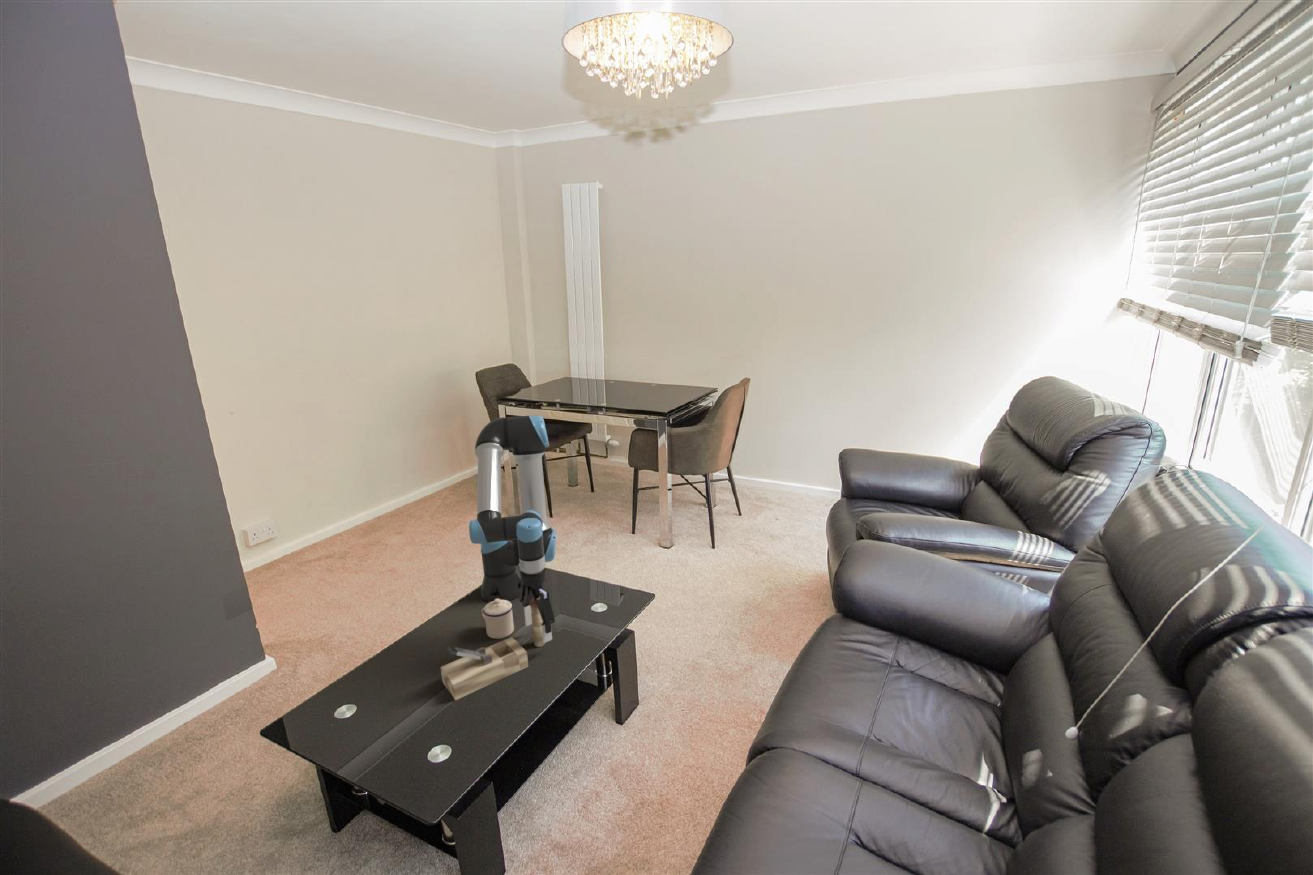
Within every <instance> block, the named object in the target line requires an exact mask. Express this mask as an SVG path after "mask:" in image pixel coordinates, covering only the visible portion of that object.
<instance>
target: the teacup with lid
mask: <svg viewBox="0 0 1313 875" xmlns="http://www.w3.org/2000/svg"><path fill="white" fill-rule="evenodd" d="M513 615H514V614H513V604H512V603H511V601H510V600H509V601H507V600H500V599H495V600H494V601H492V602H488V603H487V604H486V605H485V606H484V607H483V608H481V616H482V618H483V619H484V620H485V629H486V635H487V636H488V637H489V638H491V639H495V640H496V639H498V640H499V639H504V638H506V637H508V636H510V635H511V634H512V633H513V632H514V630H515V625H514V624H515V623H514V617H513Z"/></svg>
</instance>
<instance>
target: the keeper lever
mask: <svg viewBox="0 0 1313 875" xmlns="http://www.w3.org/2000/svg"><path fill="white" fill-rule="evenodd" d="M446 650H447V651H448V652H449V653H450V655H452V656H453V655H454V656H457V657H462V658H463V657H468V658H473V659H479V660H482V657H484V656H486V655H485V654H484V653H482V652H477V651H476V650H473V649H472V650H471V649H465V648H462V647H456V646H451V645H448V646H447V649H446Z"/></svg>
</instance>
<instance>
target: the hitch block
mask: <svg viewBox="0 0 1313 875" xmlns="http://www.w3.org/2000/svg"><path fill="white" fill-rule="evenodd" d="M475 651H477V652H482V653H484V654H485V655H486V656H484V657H482V660H479V659H473V658H468V657H463V656H462V657H461V658H458V659H456V660H454V661H452V662H449V663H447V664H444V665H442V666H440V673H441V674H440V675H441V680H442V683H443V685H444V686H445V688H446V689H447V690H448V692H449V693H450V695H451V696H452V698H453V699H454V700H455V701H458V700H460V699H461V698H463V697H466V696H468V695H469V694H470V695H471V694H472V693H474V692H477V691H479V690H481V689H483V688H485V687H487V686H489V685H492V684H494V683H497V682H498V681H500V680H503V679H504V678H507V677H509V676H511V675H513V674H515V673H517V672H519V671H522V670H524V669H526V668H528V667H529V659H528V652H527V651H526V649H525V648H523V646H522V645H521V644H519V642H518V641H517V640H515V639H514V637H513V636H511V637H508V638H506V639H503V640H502V641H500V642H496V643H495V644H492V645H490V646H487V647H485V646H482V647H480V648H477V649H475Z"/></svg>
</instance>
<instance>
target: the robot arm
mask: <svg viewBox="0 0 1313 875" xmlns="http://www.w3.org/2000/svg"><path fill="white" fill-rule="evenodd" d="M547 432H548V431H547V429H546V424H545V420H544V417H543V416H541V415H531V414H530V415H522V416H521V415H520V416H511V417H510V416H509V417H505V416H504V417H497V418H494V419H493V420H491V421H490V422H488V423H487V424H486V425H485V426H484V427H483V428H482V430H481V431H480V432H479V434H478V436H477V438H476V440H475V446H474V454H475V457H476V458H477V486H476V488H477V492H476V493H477V494H476V497H477V499H476V500H477V501H476V518H475V519H471V520H470V522H469V526H468V529H469V530H468V532H469V540H470V542H471V543H472V544H475V545H480V553H481V561H482V569H483V579H482V582H481V587H480V594H481V598H482V599H483V600H484V601H485V602H488V603H490V602H492V601H494V600H495V599H500V600H507V601H509V602H510V601H511V600H514V599H516V598H517V597H519V602H520V603H522V607H523V613H524V615H523V616H524V624H525V625H524V626H525V627H528V626H531V625H532V616H531V607H530V605H529V601H530V600H531V599H534V602H535V603H536V604H537V606H538V609H539V612H540V615H541V618H542V621H543V623H542V624H541V625H542V633H543V642H544V643H545V644H546V643H548V642H550V641H552V640H553V635H552V634H553V633H552V631H553V630H552V624H554V623H555V622H556V621H555V616H554V612H553V607H552V604H551V599H550V592H549V590H545V589H544V586H543V584H544V582H545V581H546V580H547V571H546V563H550V562H552V561H553V560H554V559H555V555H556V544H557V543H556V540H557V539H556V537H557V535H556V533H557V532H556V529H554V528H552V524H551V523H550V522H549V521H548V518H547V509H546V508H547V507H546V494H545V484H544V470H543V469H544V468H543V456H544V455H545V454H546V448H548V447H550V444H549V437H548V433H547ZM505 451H512V452H511V453H512V456H513V457H514V458H516V460H517V470H518V472H517V473H518V480H519V481H518V482H519V492H520V505H521V514H520V515H512V516H510V515H509V516H503V515H502V513H503V512H502V457H503V456H504V454H505ZM517 566H518V567H519V569H520V573H519V572H518V570H517V569H518V568H517ZM538 598H540V599H538ZM537 599H538V600H537Z"/></svg>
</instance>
